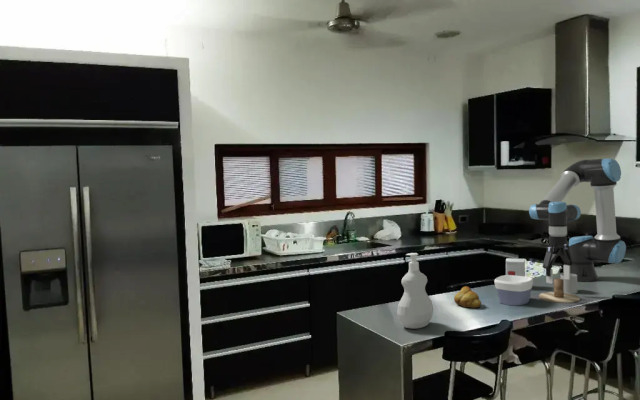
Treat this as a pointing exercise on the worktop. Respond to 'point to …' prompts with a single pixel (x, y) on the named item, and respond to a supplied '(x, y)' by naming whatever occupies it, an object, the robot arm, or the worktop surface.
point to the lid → (559, 294)
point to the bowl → (513, 289)
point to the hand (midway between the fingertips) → (558, 281)
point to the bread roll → (467, 298)
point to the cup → (570, 284)
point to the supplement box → (515, 267)
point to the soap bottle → (414, 298)
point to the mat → (582, 300)
